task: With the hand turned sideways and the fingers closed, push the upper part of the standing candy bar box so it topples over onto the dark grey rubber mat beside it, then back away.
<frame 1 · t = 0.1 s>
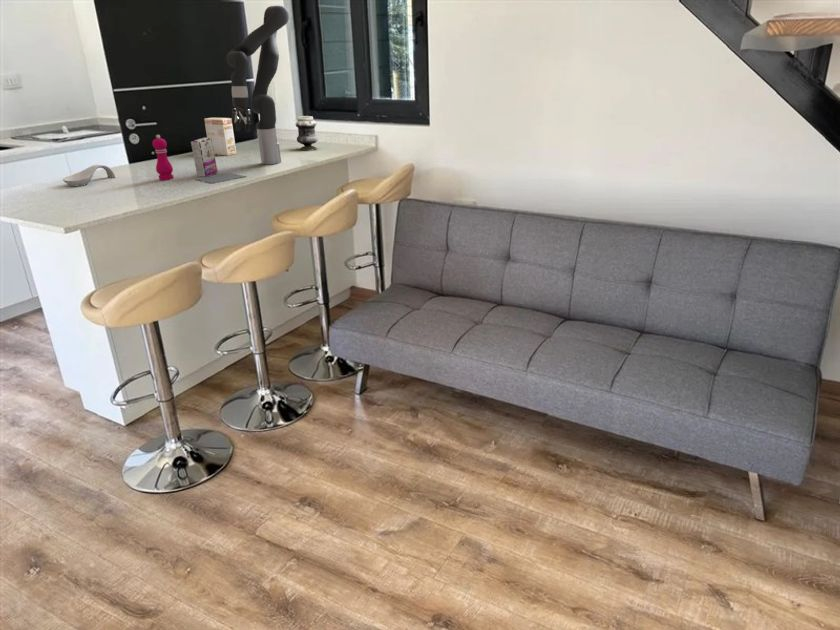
hand: (243, 131, 302), 17 cm above the countertop, tool pointing down, fingers open, 8 cm apart
rubber mat: (221, 178, 284), on the countertop
coffeecake box: (223, 154, 350), on the countertop
pepper mill: (166, 179, 287), on the countertop
apothecary jar: (308, 149, 357), on the countertop
spoon rest: (90, 183, 286), on the countertop
candy bar box: (207, 175, 294), on the countertop
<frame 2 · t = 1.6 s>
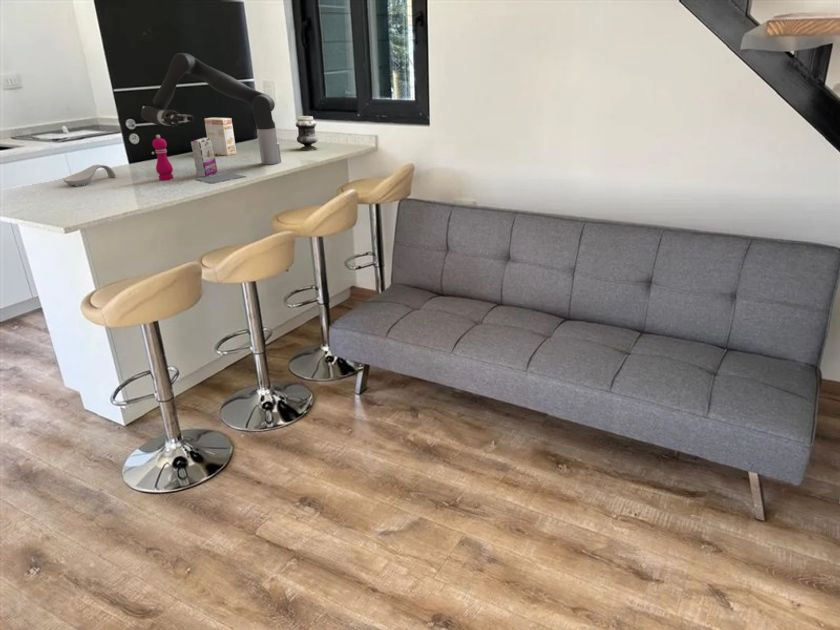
hand: (185, 120, 291), 24 cm above the countertop, tool horizontal, fingers open, 7 cm apart
nothing on the countertop moved.
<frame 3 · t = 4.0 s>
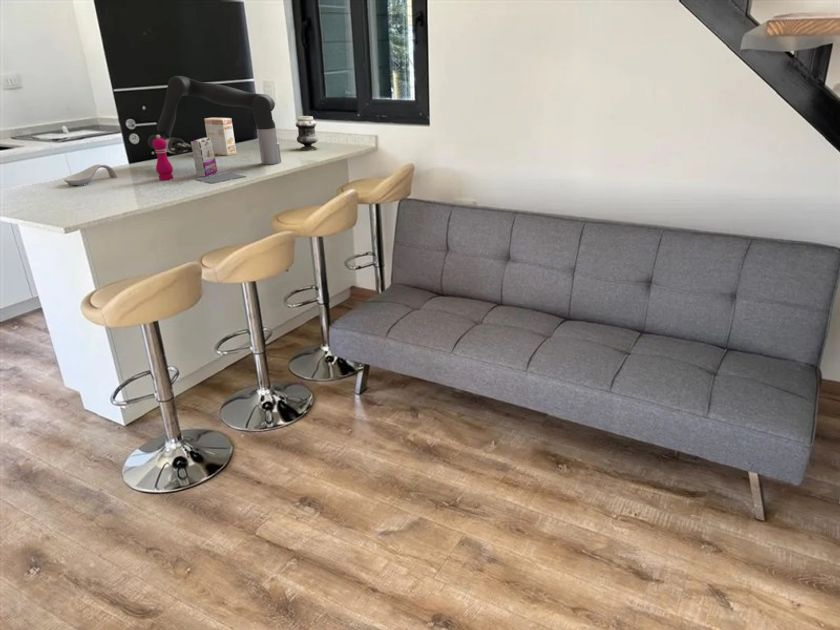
hand: (192, 149, 296), 11 cm above the countertop, tool horizontal, fingers closed
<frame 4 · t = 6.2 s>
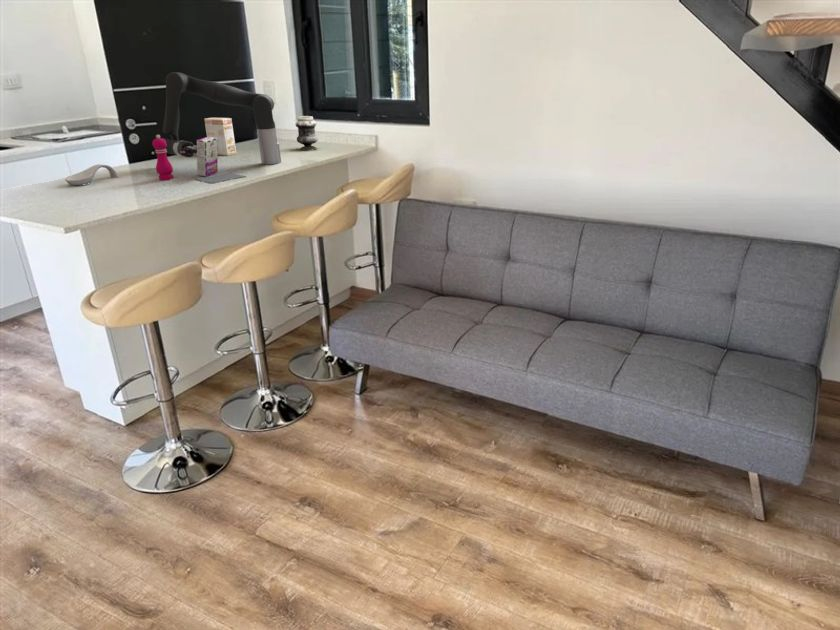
hand: (202, 151, 290), 11 cm above the countertop, tool horizontal, fingers closed
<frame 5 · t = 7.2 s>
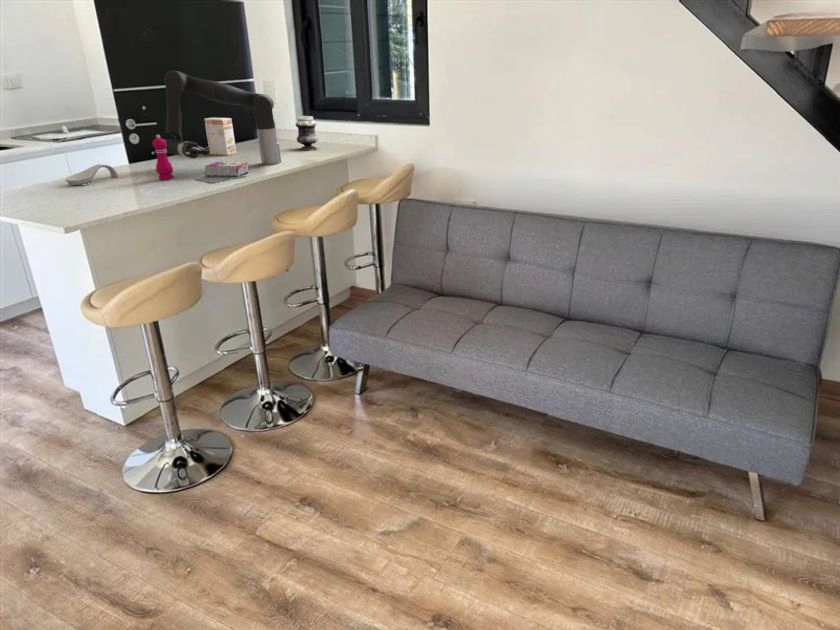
hand: (207, 152, 287), 10 cm above the countertop, tool horizontal, fingers closed
candy bar box: (211, 168, 292), point 3 cm above the countertop, touching rubber mat
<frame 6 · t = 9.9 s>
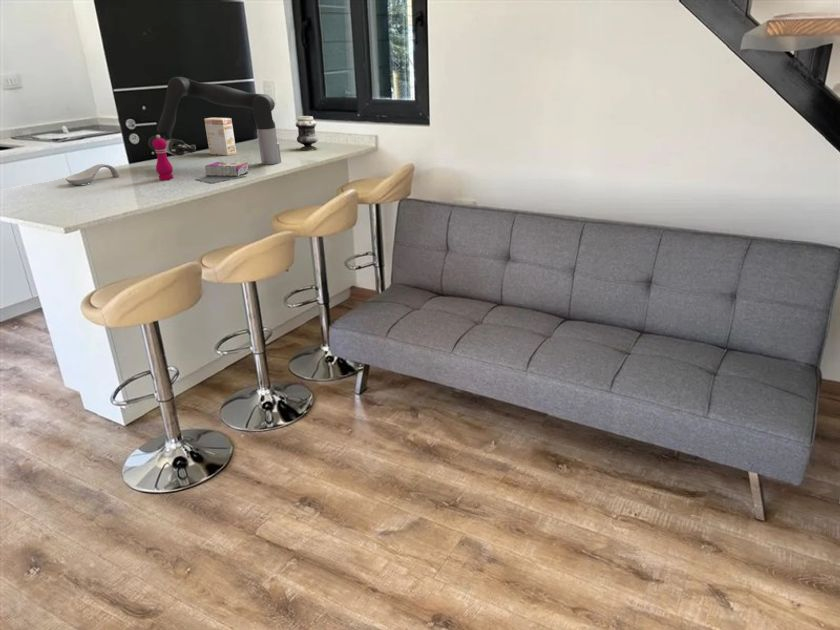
hand: (192, 150, 295), 11 cm above the countertop, tool horizontal, fingers closed
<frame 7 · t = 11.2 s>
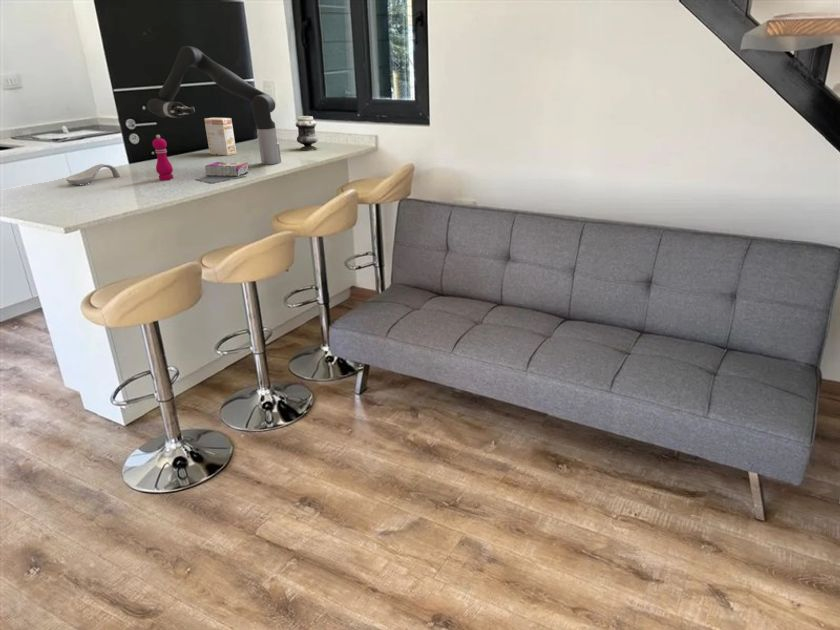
hand: (191, 111, 293), 28 cm above the countertop, tool horizontal, fingers closed
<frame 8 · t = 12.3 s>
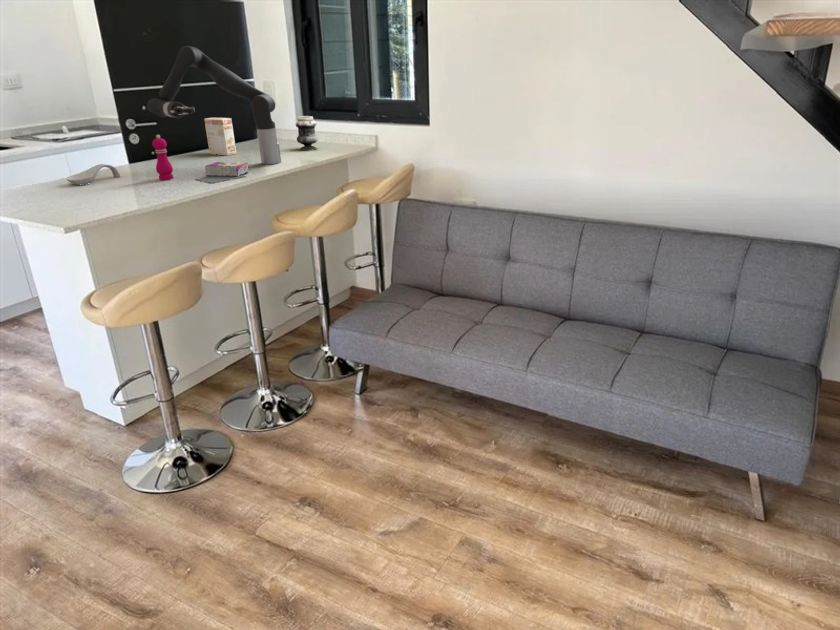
hand: (191, 111, 293), 28 cm above the countertop, tool horizontal, fingers closed
at the end: candy bar box tilted 91°; candy bar box touching rubber mat; candy bar box inside the target area (7.1 cm from its centre), point 2.8 cm above the countertop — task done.
